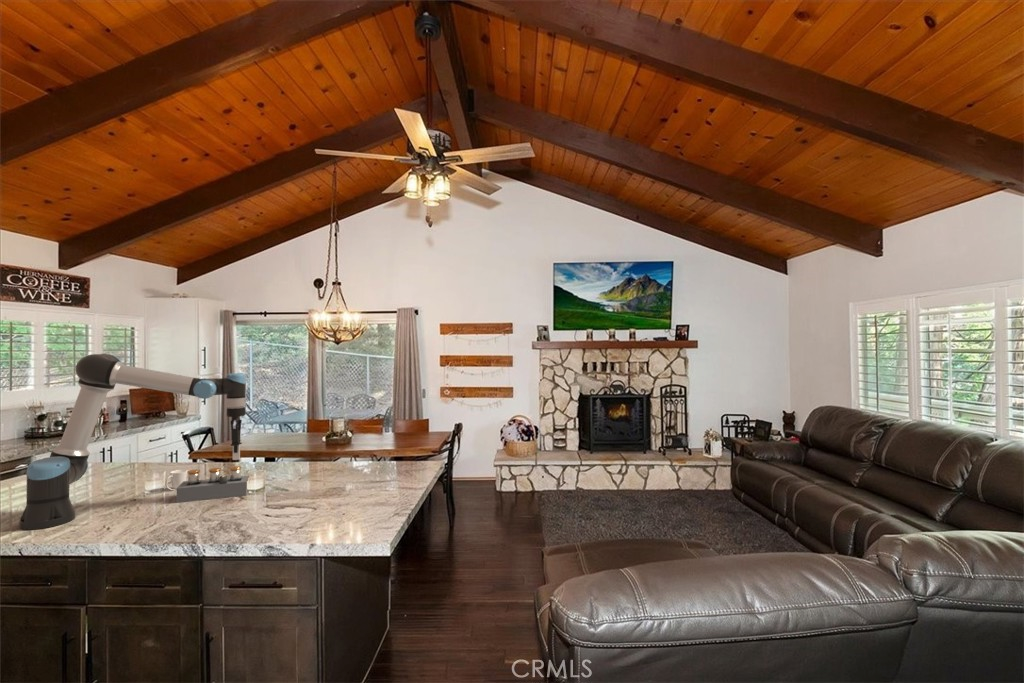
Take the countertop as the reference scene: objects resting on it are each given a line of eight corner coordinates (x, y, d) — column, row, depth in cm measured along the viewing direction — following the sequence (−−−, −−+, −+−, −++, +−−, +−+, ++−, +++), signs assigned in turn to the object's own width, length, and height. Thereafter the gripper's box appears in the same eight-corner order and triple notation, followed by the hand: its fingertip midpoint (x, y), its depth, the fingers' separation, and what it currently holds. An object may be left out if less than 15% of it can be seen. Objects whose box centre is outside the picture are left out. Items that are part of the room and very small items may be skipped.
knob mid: (218, 485, 213) (218, 470, 213) (206, 485, 212) (207, 470, 212) (222, 482, 217) (222, 467, 217) (210, 482, 216) (211, 468, 216)
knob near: (197, 487, 210) (197, 471, 210) (185, 487, 209) (185, 472, 209) (201, 484, 214) (201, 469, 214) (189, 484, 213) (190, 469, 213)
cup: (191, 487, 228) (191, 469, 228) (172, 493, 218) (172, 475, 218) (178, 486, 229) (179, 469, 229) (159, 492, 219) (159, 474, 219)
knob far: (239, 483, 216) (239, 468, 216) (227, 483, 215) (228, 468, 215) (242, 480, 220) (242, 465, 221) (231, 481, 219) (231, 466, 220)
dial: (225, 483, 211) (225, 476, 211) (218, 484, 210) (218, 477, 210) (228, 482, 214) (228, 475, 214) (221, 482, 213) (221, 475, 213)
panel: (249, 488, 225) (249, 475, 225) (246, 495, 214) (246, 481, 214) (183, 494, 215) (183, 481, 215) (176, 502, 204) (176, 488, 204)
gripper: (243, 408, 214) (243, 461, 213) (247, 405, 226) (247, 455, 225) (224, 409, 211) (224, 463, 211) (228, 406, 223) (228, 457, 223)
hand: (236, 459), depth 218 cm, fingers closed
